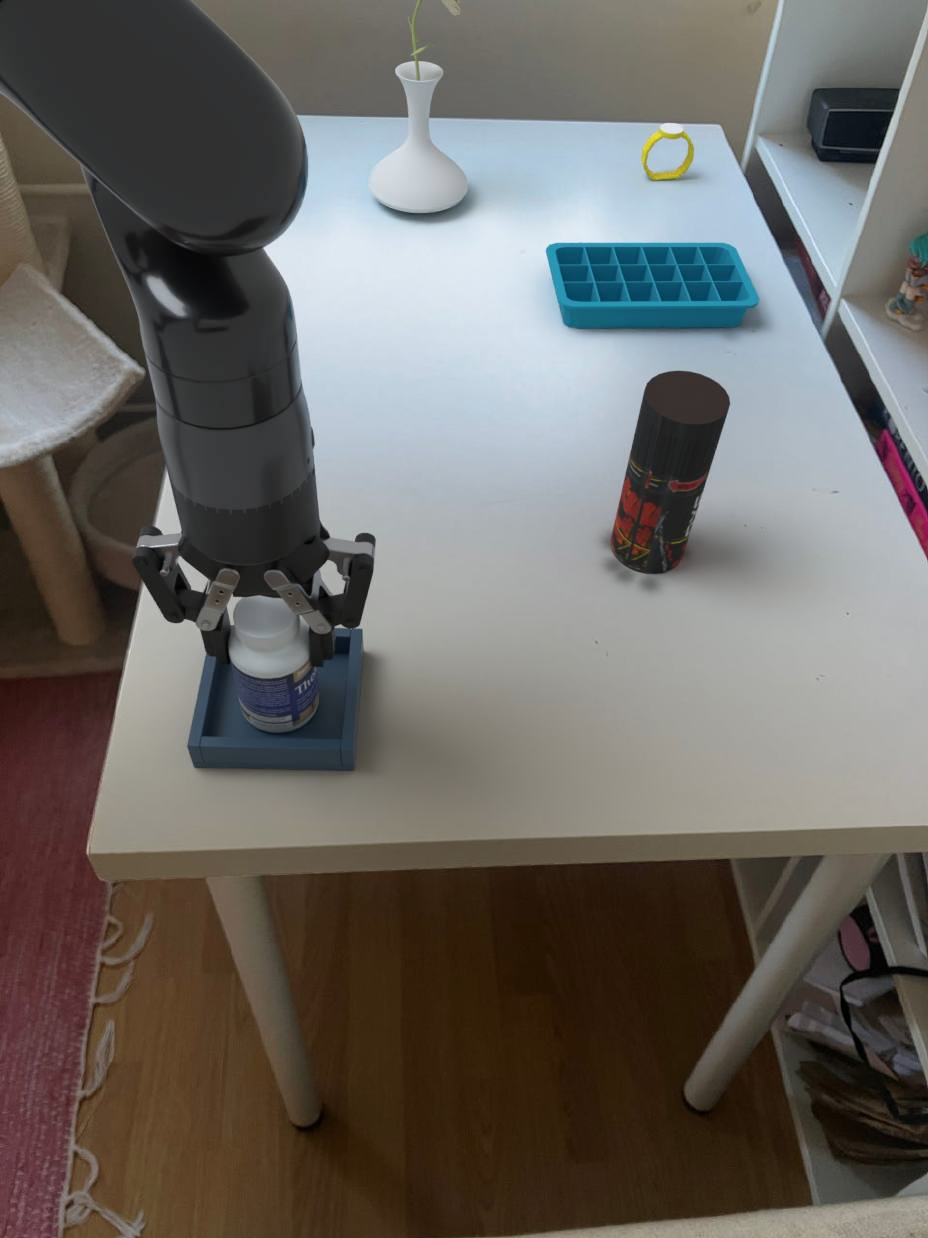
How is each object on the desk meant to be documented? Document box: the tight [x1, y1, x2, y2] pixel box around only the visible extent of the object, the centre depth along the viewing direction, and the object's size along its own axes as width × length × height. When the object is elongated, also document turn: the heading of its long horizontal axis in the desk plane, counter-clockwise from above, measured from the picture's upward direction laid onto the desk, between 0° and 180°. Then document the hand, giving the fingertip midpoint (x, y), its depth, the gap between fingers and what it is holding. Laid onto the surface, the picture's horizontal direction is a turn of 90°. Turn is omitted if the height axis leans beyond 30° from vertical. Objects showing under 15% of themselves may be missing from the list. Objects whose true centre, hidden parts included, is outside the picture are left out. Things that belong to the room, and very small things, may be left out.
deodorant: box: [610, 370, 731, 575], centre depth 75 cm, size 6×6×15 cm
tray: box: [186, 624, 365, 771], centre depth 69 cm, size 11×10×3 cm
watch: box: [640, 122, 695, 182], centre depth 118 cm, size 6×3×6 cm, turn 97°
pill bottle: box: [228, 595, 319, 733], centre depth 65 cm, size 5×5×10 cm
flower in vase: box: [367, 0, 469, 214], centre depth 106 cm, size 13×11×25 cm
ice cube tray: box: [545, 242, 760, 329], centre depth 103 cm, size 12×20×3 cm, turn 94°
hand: (273, 654), depth 65 cm, fingers closed on pill bottle, 5 cm apart
